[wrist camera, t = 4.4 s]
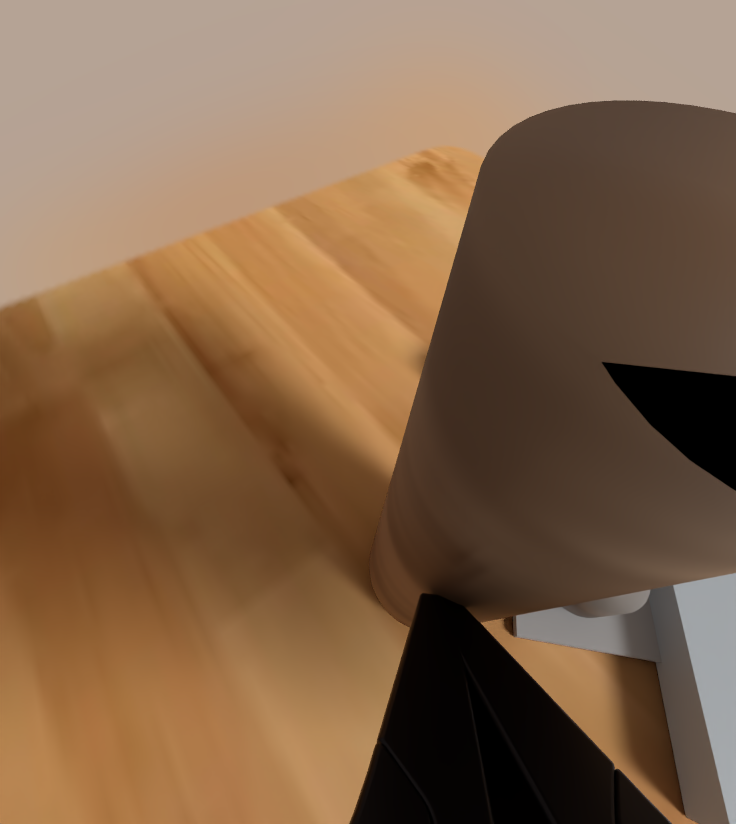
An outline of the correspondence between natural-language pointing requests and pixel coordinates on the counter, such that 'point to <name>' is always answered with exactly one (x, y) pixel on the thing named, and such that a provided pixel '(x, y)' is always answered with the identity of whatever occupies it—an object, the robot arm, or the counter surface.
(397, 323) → the counter surface
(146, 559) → the counter surface
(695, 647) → the grey flat piece
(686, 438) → the tall brown cylinder
